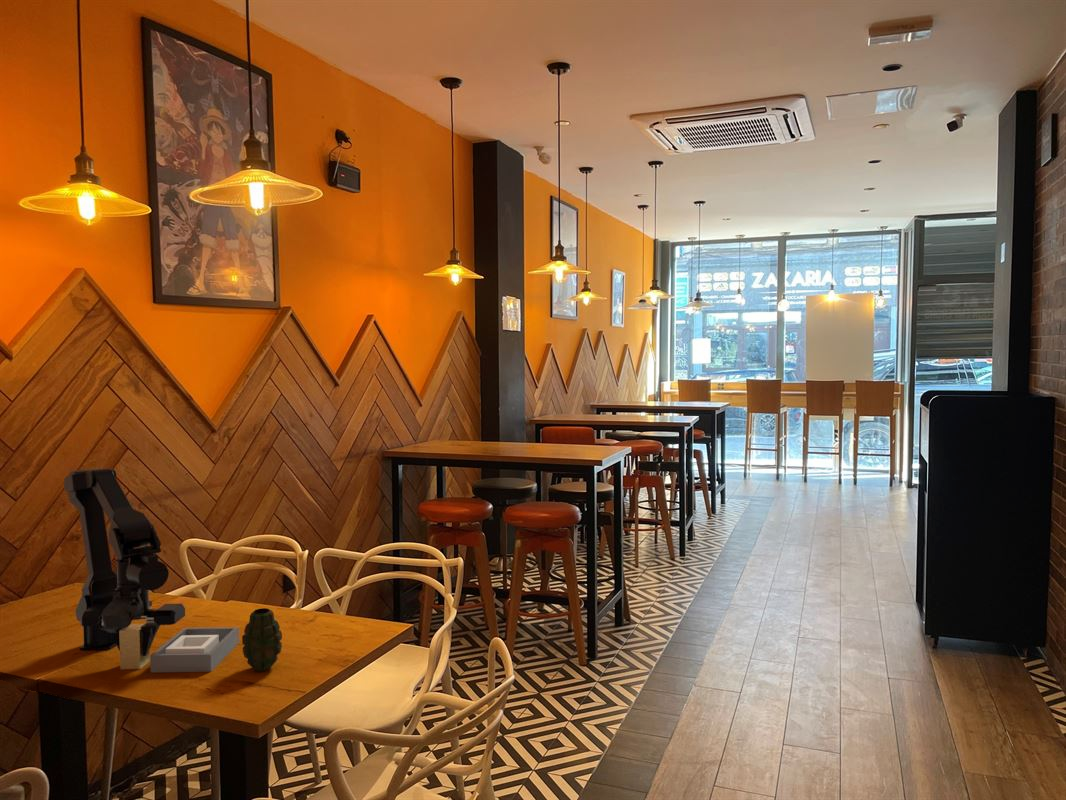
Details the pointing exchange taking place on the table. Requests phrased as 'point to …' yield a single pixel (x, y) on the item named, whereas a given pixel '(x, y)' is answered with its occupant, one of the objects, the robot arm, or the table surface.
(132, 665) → the peg
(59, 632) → the table surface
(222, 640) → the walled frame
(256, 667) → the grenade
